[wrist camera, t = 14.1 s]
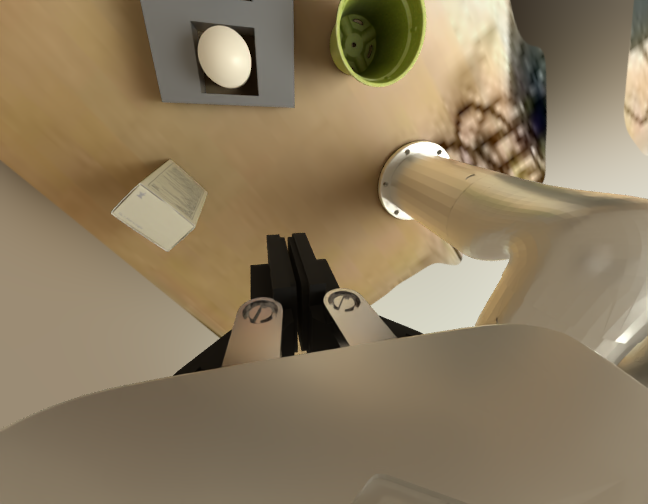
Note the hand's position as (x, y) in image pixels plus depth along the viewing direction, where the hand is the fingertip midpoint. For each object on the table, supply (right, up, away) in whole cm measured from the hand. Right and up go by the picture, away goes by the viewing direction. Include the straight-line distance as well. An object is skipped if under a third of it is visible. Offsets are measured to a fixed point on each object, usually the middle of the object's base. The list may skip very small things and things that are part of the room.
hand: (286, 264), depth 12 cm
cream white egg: (-9, +21, +17) cm, 29 cm away
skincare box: (-18, +9, +24) cm, 32 cm away
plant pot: (+5, +26, +21) cm, 34 cm away
